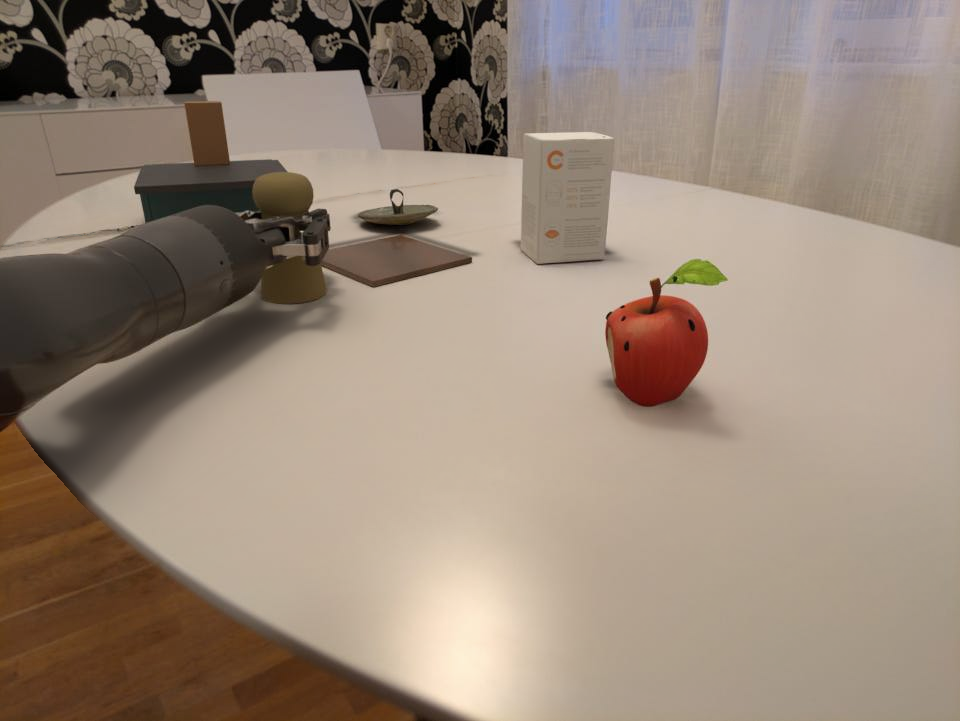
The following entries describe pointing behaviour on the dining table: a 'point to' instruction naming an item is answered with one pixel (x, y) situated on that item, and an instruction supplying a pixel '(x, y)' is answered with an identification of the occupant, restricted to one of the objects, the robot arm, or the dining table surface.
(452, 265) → the board
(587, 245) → the small box
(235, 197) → the bin
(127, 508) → the dining table surface
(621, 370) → the apple
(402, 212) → the lid
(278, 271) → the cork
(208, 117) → the bin lid
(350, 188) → the dining table surface
